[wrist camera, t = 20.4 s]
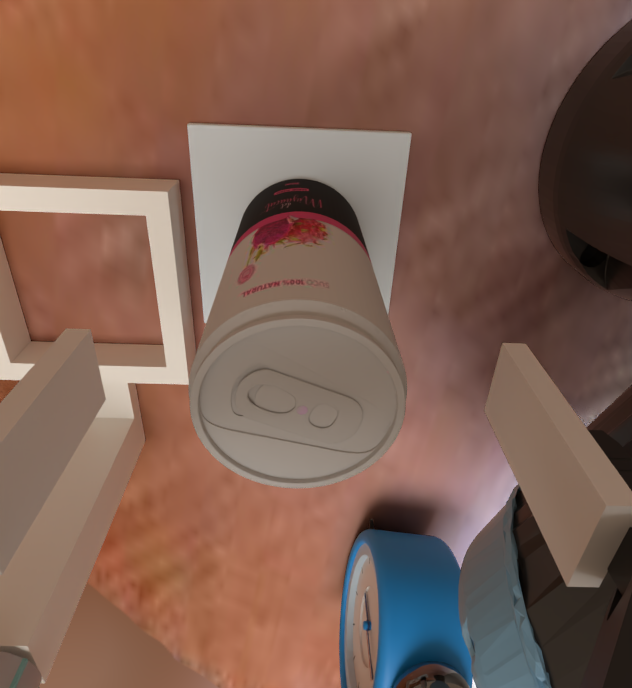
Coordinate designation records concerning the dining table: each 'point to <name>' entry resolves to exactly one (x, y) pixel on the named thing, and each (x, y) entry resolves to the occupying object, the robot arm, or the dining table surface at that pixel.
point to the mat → (294, 163)
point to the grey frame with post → (112, 419)
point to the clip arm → (18, 672)
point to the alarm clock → (401, 614)
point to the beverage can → (298, 346)
